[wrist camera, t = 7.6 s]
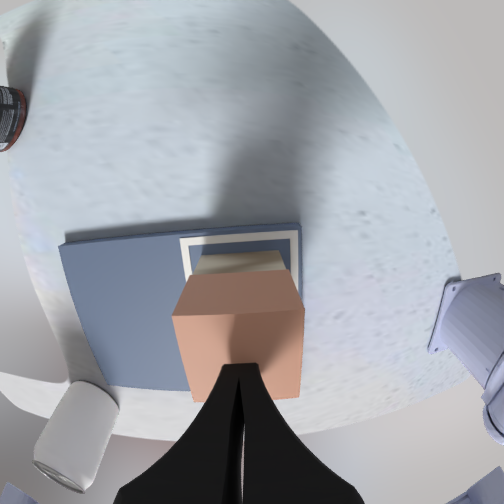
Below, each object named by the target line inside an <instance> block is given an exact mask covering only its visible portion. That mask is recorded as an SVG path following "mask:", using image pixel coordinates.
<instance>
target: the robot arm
mask: <svg viewBox="0 0 504 504" xmlns="http://www.w3.org/2000/svg"><path fill="white" fill-rule="evenodd" d="M500 280H501V274H500V273H495V274H491V275H486V276H482V277H478V278H472V279H468V280H463V281H458V282H453V283H449V284H447V285H446V287H445V291H444V295H443V299H442V303H441V307H440V311H439V315H438V319H437V322H436V326H435V329H434V332H433V336H432V339H431V342H430V345H429V348H428V353H429V354H433V353H437V352H440V351H443V350H446V349H448V348H449V349H450V350H451V352H452V353H453V354H454V355H455V356H456V357H457V358H458V359H459V360H460V362H461V363H462V364H463V365H464V366H465V367H466V368H467V370H468V371H469V372H470V373H471V374H472V375H473V377H474V378H475V379H476V380H477V381H478V383H479V384H480V385H481V386H482V387H483V389H484V390H485V391H484V393H483V395H482V396H481V398H482V399H483V401H484V402H485V403H486V404H485V406H484V408H483V419H484V425H485V427H486V430H487V432H488V433H489V435H490V436H491V437H492V439H493V440H495V441H496V442H497V443H499V444H501V445H503V446H504V285H502V284H501V283H500ZM244 424H245V428H244ZM243 435H244V479H243V501H242V491H241V490H242V489H241V458H242V446H243ZM0 504H39V503H38V502H37V501H36V500H34V499H33V498H32V497H30V496H29V495H27V494H26V493H24V492H23V491H21V490H20V489H18V488H17V487H15V486H13V485H12V484H11V483H9V482H7V483H6V485H5V488H4V490H3V492H2V494H1V497H0ZM113 504H365V503H364V501H363V499H362V498H361V496H360V494H359V493H358V492H357V490H356V489H355V487H354V486H352V485H351V484H349V483H348V482H346V481H345V480H344V479H342V478H341V477H339V476H338V475H337V474H335V473H334V472H333V471H332V470H331V469H329V468H328V467H327V466H326V465H325V464H323V463H322V462H321V461H320V460H319V459H318V458H317V457H316V456H315V455H314V454H313V453H312V452H311V451H310V450H309V449H308V448H307V447H306V446H305V445H304V444H303V443H302V442H301V440H300V439H299V438H298V437H297V436H296V434H295V433H294V432H293V431H292V429H291V428H290V427H289V425H288V424H287V423H286V421H285V420H284V418H283V417H282V415H281V414H280V412H279V411H278V409H277V407H276V406H275V404H274V402H273V400H272V398H271V397H270V395H269V393H268V391H267V389H266V386H265V384H264V382H263V379H262V376H261V373H260V370H259V364H257V363H256V362H254V363H237V364H224V365H223V366H222V367H221V370H220V373H219V376H218V378H217V380H216V382H215V384H214V387H213V389H212V391H211V392H210V394H209V396H208V398H207V400H206V402H205V403H204V405H203V407H202V408H201V410H200V411H199V413H198V414H197V416H196V418H195V419H194V421H193V422H192V423H191V425H190V426H189V427H188V429H187V430H186V431H185V433H184V434H183V435H182V436H181V437H180V439H179V440H178V441H177V442H176V443H175V444H174V445H173V446H172V447H171V449H170V450H169V451H168V452H167V453H166V454H165V455H164V456H162V457H161V458H160V459H159V460H158V461H157V462H156V463H154V464H153V465H152V466H151V467H150V468H148V469H147V470H146V471H145V472H143V473H142V474H141V475H140V476H138V477H136V478H135V479H134V480H132V481H131V482H129V483H127V484H126V485H124V486H123V487H121V488H120V489H119V491H118V493H117V495H116V498H115V500H114V503H113ZM446 504H504V472H503V471H502V469H501V467H500V466H498V467H497V468H495V469H494V470H493V471H491V472H490V473H489V474H487V475H486V476H485V477H483V478H482V479H480V480H479V481H478V482H477V483H475V484H474V485H473V486H471V487H470V488H469V489H468V490H467V491H466V492H464V493H463V494H461V495H460V496H458V497H456V498H455V499H453V500H451V501H449V502H448V503H446Z"/></svg>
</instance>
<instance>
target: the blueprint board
mask: <svg viewBox="0 0 504 504" xmlns="http://www.w3.org/2000/svg"><path fill="white" fill-rule="evenodd" d="M58 248H59V252H60V256H61V261H62V264H63V268H64V272H65V276H66V279H67V283H68V286H69V289H70V293H71V296H72V299H73V302H74V305H75V308H76V311H77V314H78V317H79V319H80V322H81V325H82V328H83V330H84V333H85V335H86V338H87V340H88V343H89V345H90V347H91V350H92V352H93V354H94V357H95V359H96V361H97V363H98V366H99V368H100V370H101V372H102V374H103V376H104V378H105V380H106V382H107V384H108V385H114V386H122V387H131V388H141V389H153V390H169V391H191V390H190V387H189V383H188V380H187V376H186V373H185V369H184V365H183V362H182V358H181V354H180V350H179V346H178V342H177V338H176V334H175V329H174V325H173V320H172V314H173V311H174V309H175V307H176V305H177V302H178V300H179V298H180V296H181V293H182V291H183V289H184V287H185V284H186V282H187V280H188V278H189V276H190V275H193V273H194V270H195V268H196V266H197V264H198V261H199V259H200V257H201V255H214V254H229V253H243V252H258V251H273V250H279V252H280V255H281V257H282V260H283V262H284V265H285V267H286V269H289V271H290V273H291V276H292V278H293V281H294V283H295V286H296V288H297V291H298V293H299V296H300V298H301V295H302V233H301V225H300V224H299V223H282V224H266V225H251V226H236V227H223V228H209V229H197V230H185V231H173V232H162V233H152V234H141V235H131V236H121V237H112V238H102V239H93V240H84V241H76V242H68V243H64V244H62V245H60V246H58Z"/></svg>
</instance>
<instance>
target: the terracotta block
mask: <svg viewBox="0 0 504 504" xmlns="http://www.w3.org/2000/svg"><path fill="white" fill-rule="evenodd" d="M304 315H305V308H304V306H303V303H302V301H301V298H300V296H299V293H298V291H297V288H296V286H295V283H294V281H293V278H292V276H291V273H290V271H289V269H285V270H270V271H254V272H237V273H220V274H201V275H190V276H189V278H188V280H187V282H186V284H185V287H184V289H183V291H182V293H181V296H180V298H179V300H178V302H177V305H176V307H175V309H174V311H173V314H172V320H173V325H174V329H175V334H176V338H177V342H178V346H179V350H180V354H181V358H182V362H183V365H184V369H185V373H186V376H187V380H188V383H189V387H190V390H191V394H192V397H193V400H194V402H206V400H207V398H208V396H209V394H210V392H211V391H212V389H213V387H214V384H215V382H216V380H217V378H218V376H219V373H220V370H221V367H222V366H223V365H224V364H237V363H254V362H256V363H257V364H259V370H260V373H261V376H262V379H263V382H264V384H265V386H266V389H267V391H268V393H269V395H270V397H271V398H272V400H278V399H288V398H297V397H299V393H300V381H301V368H302V353H303V336H304Z"/></svg>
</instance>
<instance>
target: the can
mask: <svg viewBox="0 0 504 504" xmlns="http://www.w3.org/2000/svg"><path fill="white" fill-rule="evenodd" d="M118 415H119V409H118V406H117V404H116V402H115V401H114V399H113V398H112V397H111V396H110V395H109V394H108V393H107V392H106V391H104V390H103V389H102V388H100V387H98V386H97V385H95V384H92V383H90V382H86V381H76V382H73V383H72V384H71V385H70V386H69V388H68V390H67V391H66V393H65V394H64V396H63V397H62V399H61V401H60V402H59V404H58V406H57V407H56V409H55V411H54V412H53V414H52V416H51V417H50V419H49V421H48V423H47V424H46V426H45V428H44V430H43V432H42V433H41V435H40V438H39V439H38V441H37V443H36V445H35V447H34V460H33V461H32V463H33V465H34V466H35V467H36V468H37V469H38V470H39V471H41V472H42V473H43V474H44V475H46V476H47V477H48V478H50V479H51V480H53V481H55V482H56V483H58V484H60V485H61V486H63V487H65V488H67V489H69V490H72V491H74V492H77V493H80V494H85V489H87V488H88V487H89V486H90V485H92V483H93V481H94V479H95V476H96V473H97V470H98V467H99V465H100V462H101V459H102V457H103V454H104V451H105V448H106V446H107V443H108V441H109V438H110V436H111V433H112V430H113V428H114V425H115V423H116V420H117V418H118Z"/></svg>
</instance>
